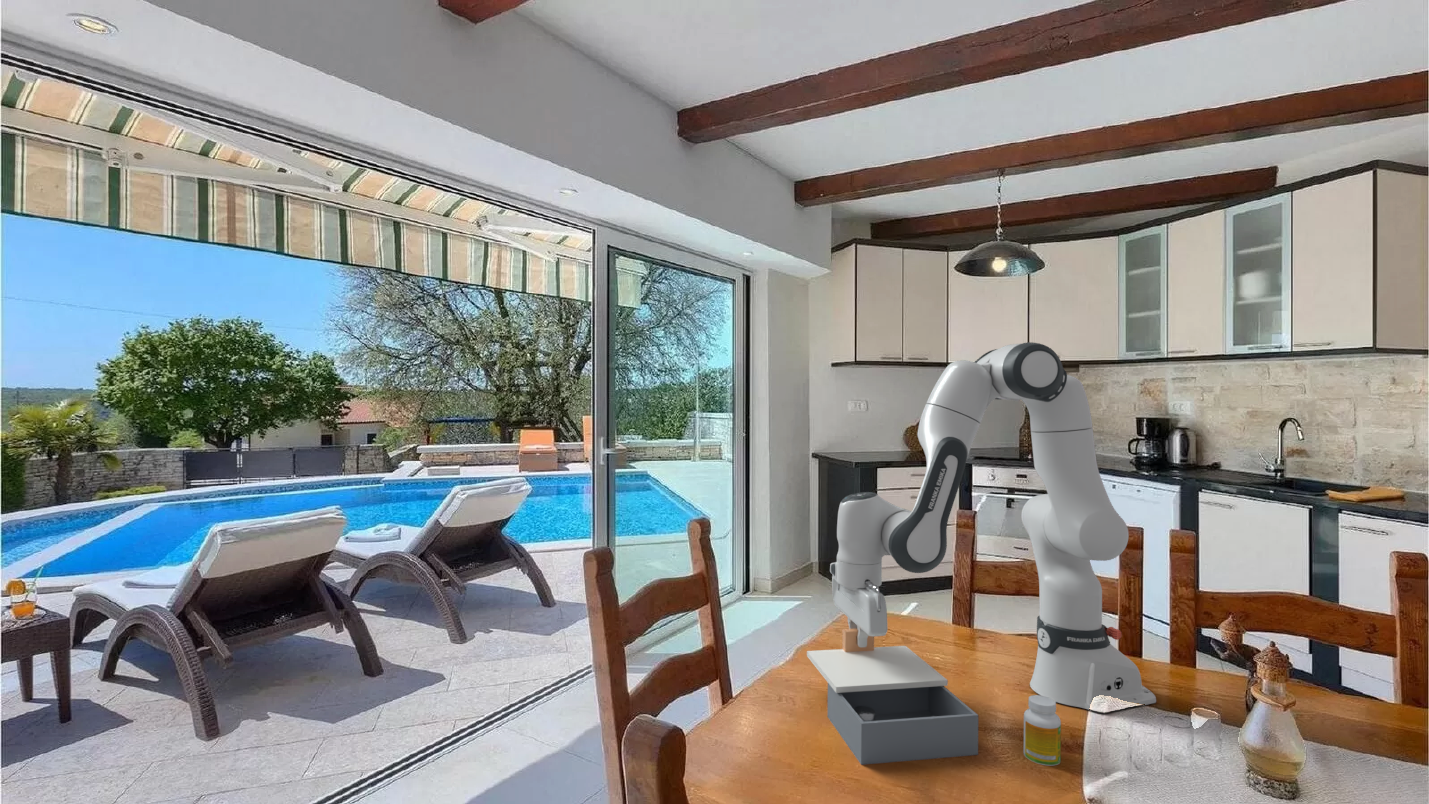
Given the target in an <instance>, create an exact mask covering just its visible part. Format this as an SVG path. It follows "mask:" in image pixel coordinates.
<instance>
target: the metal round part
mask: <svg viewBox="0 0 1429 804" xmlns="http://www.w3.org/2000/svg"><path fill="white" fill-rule="evenodd" d="M854 710H855V712H856V713H857V714H858V715H859V717H860V718H861V719H862V720H863V722H866V721H875V711H874V710H873V709H872V708H869V707H865V706H859V707H856V708H855V709H854Z"/></svg>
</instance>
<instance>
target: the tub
mask: <svg viewBox="0 0 1429 804" xmlns="http://www.w3.org/2000/svg"><path fill="white" fill-rule="evenodd" d="M859 706H865V707H869V708H872V709H873V710H874V711H875V721H866V722H863V720H862V719H861V718H860V717H859V715H858V714H857V713H856V712H855V710H854V709H855V708H856V707H859ZM931 716H935V717H931ZM827 718H828V720H829V721H830V723H831V724H832V726H833V727H834V728H835V729H836V731H837V732H838V734H839V735H840V737H841V738H842V740H843V742H845V744H846V745H847V747H848V748H849V749H850V751H851V753H852V754H853V755H854V757H855V758H856V760H857V761H858V763H859V764H860V765H861V766H862V765H863V766H864V765H876V764H885V763H899V762H908V761H912V762H913V761H922V760H932V759H944V758H945V759H946V758H947V759H948V758H957V757H958V758H959V757H969V756H979V714H978V713H977V712H975V711H974V710H973V709H972V708H970V707H969V706H968V705H967V704H966V703H964V702H963V701H962V700H961V699H960V698H958V697H957V695H955V694H954V693H953V692H952V691H950V690H949V688H947V687H946V686H934V687H919V688H904V689H888V690H873V691H858V692H842V693H836V692H835V691H834V690H833V688H832V687H831V686H830V685H829V683H828V682H827Z"/></svg>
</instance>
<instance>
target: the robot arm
mask: <svg viewBox="0 0 1429 804" xmlns="http://www.w3.org/2000/svg"><path fill="white" fill-rule="evenodd" d="M994 400H1005V401H1019V400H1021V401H1022V402H1023V404H1024V405H1025V407H1026V408H1027V411H1028V414H1029V422H1030V425H1029V426H1030V435H1031V436H1030V437H1031V446H1032V447H1031V449H1032V456H1033V466H1034V469H1035V472H1036V473H1037V475H1038V476H1039V477H1040V479H1041V482H1042V483H1043V485H1044V487H1045V489H1046V493H1045V494H1037V495H1035V496H1032V497H1031V498H1029V499H1028V500H1027V501H1026V502H1025V503H1024V505H1023V506H1022V509H1021V515H1020V516H1021V523H1022V525H1023V528H1024V530H1025V531H1026V533H1027V535H1028V537H1029V541H1030V543H1031V547H1032V552H1033V556H1034V560H1035V565H1036V571H1037V575H1038V584H1039V585H1038V586H1039V596H1038V597H1039V607H1038V608H1039V615H1038V616H1037V618H1036V638H1037V640H1036V641H1037V652H1036V653H1037V654H1036V659H1035V665H1034V669H1033V672H1032V676H1031V680H1030V681H1029V686H1030V688H1031V689H1032V691H1034V692H1035V693H1036V694H1037V695H1041V696H1046V697H1049V698H1051V699H1053V700H1054V701H1055V702H1056V703H1059V704H1062V705H1066V706H1071V707H1077V708H1082V709H1086V710H1088V711H1090V710H1089V708H1090V704H1091V702H1092V700H1093V698H1094V697H1096V696H1099V695H1104V696H1111V697H1113V698H1118V699H1120V700H1123V701H1127V702H1134V703H1139V704H1145V705H1144V706H1147V705H1151V704H1156V703H1157V697H1156V695H1155V694H1154V693H1153V692H1152V691H1151V690H1150V689H1148V688H1147V687H1145V686H1144V685H1142V683H1143V682H1142V676H1141V673H1140V669H1139V668H1138V666H1137V665H1136V664H1135V663H1134V662H1133V660H1131V659H1130V658H1129V657H1127V656H1126V655H1125V654H1123V653H1122V652H1121V651H1120V650H1119V649H1117V648H1116V647H1115V646H1114V645H1112V644H1111V641H1110V639H1109V638H1112V639H1114V640H1115V641H1118V640H1120V639H1121V638H1122V634H1123V633H1122V631H1121V630H1120V629H1118V628H1115V627H1113V626H1109V627H1107V626H1106V625H1104V624H1103V588H1102V584H1101V582H1100V580H1099V578H1098V577H1097V575H1096V573H1095V571H1094V569H1093V567H1092V564H1091V561H1098V562H1100V561H1103V562H1105V561H1106V562H1108V561H1111V560H1114V559H1116V558H1117V557H1119V556H1120V555H1122V553H1123V552H1124V551H1125V549H1126V548H1127V545H1128V543H1129V542H1128V541H1129V534H1130V533H1129V529H1128V526H1127V523H1126V522H1125V520H1124V519H1123V518H1122V516H1121V515H1120V514H1119V513H1118V512H1117V510H1116V509H1115V508H1114V506H1113V504H1112V502H1111V500H1110V498H1109V495H1108V493H1107V490H1106V487H1105V485H1104V483H1103V480H1102V477H1101V474H1100V471H1099V466H1098V463H1097V457H1096V456H1097V454H1096V447H1095V438H1094V428H1093V421H1092V414H1091V409H1090V404H1089V400H1088V396H1087V393H1086V391H1085V387H1084V385H1083V383H1082V382H1081V380H1080V379H1078V378H1077V377H1076V376H1073V375H1070V374H1067V371H1066V370H1065V368H1064V367H1063V363H1062V361H1061V359H1060V357H1059V355H1058V354H1057V353H1056V352H1055V351H1054V350H1053V349H1052V348H1051V347H1049V346H1047V345H1045V344H1042V343H1038V342H1033V341H1032V342H1031V341H1028V342H1023V343H1013V344H1007V345H1004V346H1002V347H1000V348H996V349H995V348H994V349H992V350H989V351H987V352H985V353H983V355H981V356H979V358H978V359H976V360H975V361H971V360H955V361H953V362H951V363H949V364H948V365H947V366H946V368H944V370H943V372H942V373H941V374H940V376H939V377H938V380H937V381H936V383H935V384H934V386H933V387H932V391H931V393H930V394H929V396H928V399H927V400H926V403H925V405H924V408H923V411H922V413H921V415H920V418H919V423H918V427H917V438H918V441H919V444H920V446H921V447H922V449H923V453H924V455H925V461H926V469H925V474H924V477H923V480H922V482H921V485H920V489H919V492H918V495H917V497H916V500H915V503H914V506H913V509H912V510H909V509H906V508H903V507H900V506H898V505H895V504H893V503H891V502H889V501H888V500H886V499H884V498H882V497H881V496H879V494H877V493H875V492H871V491H870V492H869V491H866V492H865V491H862V492H861V491H860V492H856V493H852V494H849V495H846V496H845V497H844V498H842V500H841V501H840V503H839V507H838V511H837V524H836V539H837V542H838V549H837V550H838V551H837V554H836V561H835V562H831V563H830V564H829V565H830V566H829V572H830V574H832V576H831V578H832V579H831V586H832V587H831V589H832V599H833V600H832V601H833V604H834V606H835V607H836V608H837V609H838V610H839V611H840V612H842V613H843V614H844V615H845V616H846V617H847V624H848V629H856V628H857V629H858V636H856V644H857V645H858V646H859V647H866V646H867V638H868V635H869V636H874V637H883V636H886V635H887V633H888V611H887V609H888V608H887V603H886V597H885V595H884V594H883V593H882V592H880V588H879V587H880V586H882V583H883V581H882V573H883V572H882V570H883V569H882V564H883V563H882V560H883V559H882V558H883V557H884V556H891V557H892V558H893V560H894V561H895V562H896V564H897V565H898V566H899V567H900V568H901V569H903V570H904V571H907V572H910V573H914V574H922V573H927V572H930V571H933V570H934V569H935V568H937V566H939V565H940V564H941V563H942V561H943V559H944V558H945V556H946V553H947V546H948V545H947V544H948V540H947V536H948V534H947V530H948V528H947V527H948V522H949V518H950V515H951V511H952V509H953V506H954V504H955V500H956V497H957V493H958V491H959V487H960V484H961V481H962V479H963V475H964V473H965V468H966V464H967V460H968V458H969V454H970V450H971V449H972V447H973V443H974V440H975V439H976V436H977V434H978V432H979V429H980V427H981V424H982V421H983V418H984V416H985V412H986V410H988V407H989V406H990V404H991V403H992V402H993V401H994Z"/></svg>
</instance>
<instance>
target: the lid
mask: <svg viewBox="0 0 1429 804" xmlns="http://www.w3.org/2000/svg"><path fill="white" fill-rule="evenodd" d="M856 636H858V629H857V628H856V629H849V628H842V648H840V649H822V650H821V649H820V650H818V649H817V650H807V651H806V657H807V658H808V659H809V660H810V662H811V664H813V666H814V667H815V668H816V669H817V671H818V672H819V673H820V674H821V676H822V677H823V678H824V680H825V681H826V682H827V684H828V683H829V685H830V686H831V687H832V688H833V690H834V691H835V692H836V693H842V692H858V691H873V690H888V689H904V688H919V687H934V686H944V687H948V682H949V681H948V679H947V678H946V677H944V676H943V675H942V674H941V673H940V672H938V671H937V670H936V669H935V668H934V667H932V666H931V665H930V664H928V663H927V661H925V660H924V659H923V658H921V657H920V656H919V655H917V654H916V653H915V652H914V651H912V650H911V649H910V648H909V647H908V646H906V645H893V646H877V647H876V646H875V636H869V635H868V638H867V646H866V647H859V646H858V645H857V644H856Z"/></svg>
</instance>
